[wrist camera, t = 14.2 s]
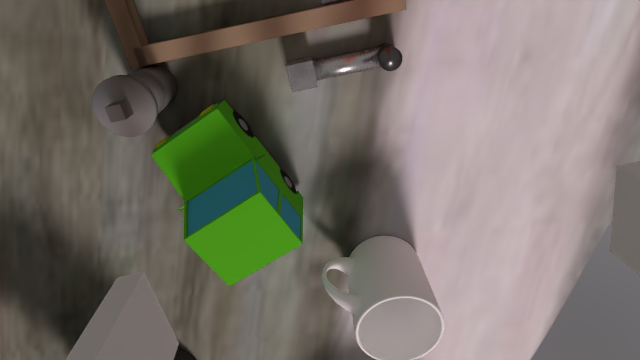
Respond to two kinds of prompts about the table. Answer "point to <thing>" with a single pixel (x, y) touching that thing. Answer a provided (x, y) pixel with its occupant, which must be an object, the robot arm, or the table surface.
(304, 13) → the bay
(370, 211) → the table surface
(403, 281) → the mug
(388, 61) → the crank handle
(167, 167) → the toy car
